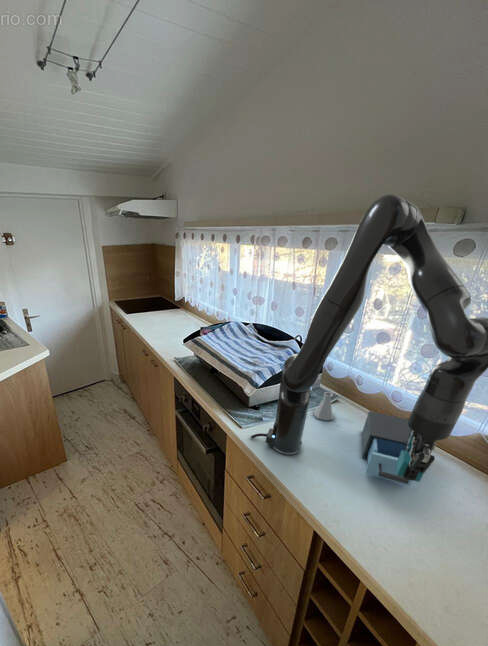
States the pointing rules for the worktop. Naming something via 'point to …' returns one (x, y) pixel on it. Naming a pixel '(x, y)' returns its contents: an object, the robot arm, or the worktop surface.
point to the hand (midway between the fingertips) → (407, 471)
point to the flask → (325, 408)
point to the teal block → (405, 465)
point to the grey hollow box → (384, 430)
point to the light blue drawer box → (385, 460)
